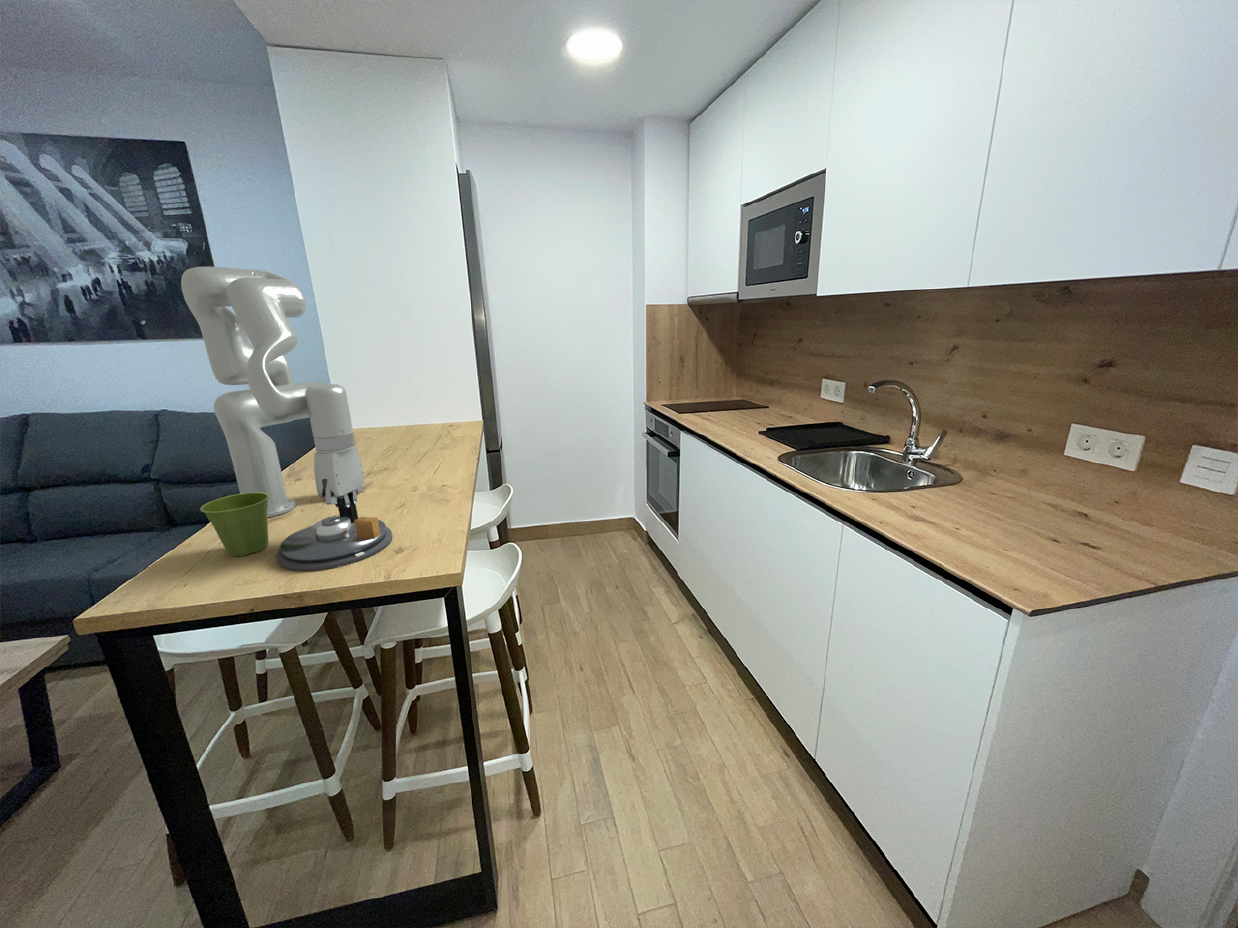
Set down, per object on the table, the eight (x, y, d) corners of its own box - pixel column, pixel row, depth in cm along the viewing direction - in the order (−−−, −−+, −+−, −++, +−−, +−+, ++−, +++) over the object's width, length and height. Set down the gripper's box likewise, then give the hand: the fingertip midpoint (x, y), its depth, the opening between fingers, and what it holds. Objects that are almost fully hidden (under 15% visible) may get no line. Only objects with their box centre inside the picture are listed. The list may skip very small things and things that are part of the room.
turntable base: (249, 568, 98) (248, 562, 98) (326, 525, 119) (325, 520, 119) (351, 573, 95) (350, 567, 95) (411, 528, 116) (410, 523, 116)
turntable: (257, 560, 99) (250, 535, 97) (327, 521, 118) (323, 500, 116) (347, 564, 96) (342, 539, 95) (404, 524, 115) (401, 502, 114)
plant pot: (223, 544, 110) (210, 497, 107) (285, 534, 114) (275, 488, 111) (204, 567, 100) (190, 515, 96) (274, 555, 104) (262, 505, 101)
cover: (307, 541, 103) (304, 525, 102) (330, 528, 110) (327, 512, 109) (337, 543, 102) (334, 526, 101) (359, 529, 109) (356, 513, 108)
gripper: (341, 435, 114) (355, 509, 119) (293, 451, 99) (310, 535, 104) (372, 435, 113) (384, 510, 118) (327, 451, 99) (343, 535, 104)
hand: (349, 521), depth 111 cm, fingers closed
